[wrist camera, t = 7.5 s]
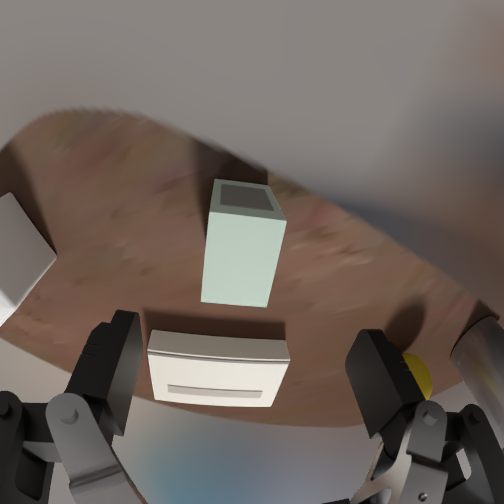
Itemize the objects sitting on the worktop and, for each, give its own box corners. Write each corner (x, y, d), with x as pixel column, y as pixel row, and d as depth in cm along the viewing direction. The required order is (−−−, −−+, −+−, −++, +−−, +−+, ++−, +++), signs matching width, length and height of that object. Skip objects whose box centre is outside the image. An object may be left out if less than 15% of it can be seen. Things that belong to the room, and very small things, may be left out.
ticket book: (285, 340, 25) (290, 360, 23) (268, 388, 29) (270, 407, 27) (152, 329, 24) (147, 350, 21) (157, 381, 27) (154, 400, 25)
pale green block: (269, 184, 18) (287, 219, 13) (255, 253, 21) (266, 306, 15) (214, 177, 18) (209, 210, 12) (206, 248, 20) (200, 301, 15)
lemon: (388, 374, 31) (411, 424, 24) (362, 366, 29) (387, 423, 22) (420, 345, 29) (449, 395, 22) (398, 333, 27) (430, 390, 20)
